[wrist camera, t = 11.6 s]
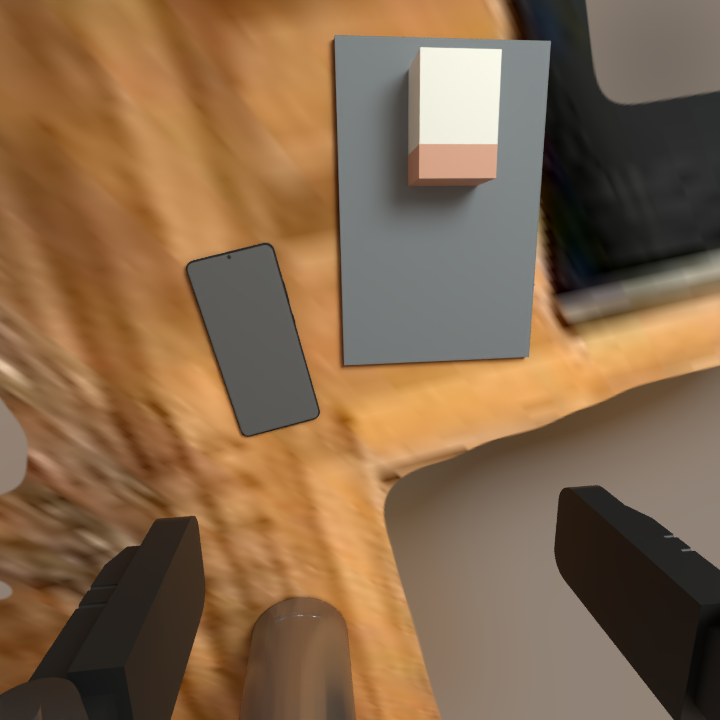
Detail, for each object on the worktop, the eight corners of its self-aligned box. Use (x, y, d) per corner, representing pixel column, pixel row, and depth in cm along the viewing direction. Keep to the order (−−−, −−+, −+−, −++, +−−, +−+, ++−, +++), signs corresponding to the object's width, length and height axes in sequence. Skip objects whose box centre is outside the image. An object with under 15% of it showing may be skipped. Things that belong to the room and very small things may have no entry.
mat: (526, 355, 39) (528, 356, 39) (343, 363, 38) (344, 365, 37) (547, 44, 34) (550, 41, 33) (334, 38, 32) (334, 35, 32)
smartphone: (242, 439, 38) (183, 262, 34) (244, 434, 39) (186, 262, 35) (322, 418, 38) (271, 240, 34) (321, 414, 39) (272, 240, 35)
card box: (408, 69, 33) (420, 47, 29) (481, 70, 33) (502, 49, 30) (408, 186, 35) (419, 178, 31) (477, 185, 35) (496, 178, 32)
